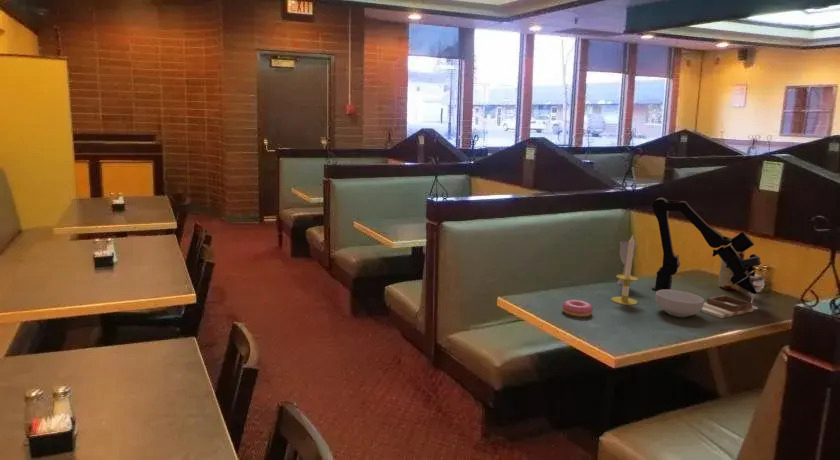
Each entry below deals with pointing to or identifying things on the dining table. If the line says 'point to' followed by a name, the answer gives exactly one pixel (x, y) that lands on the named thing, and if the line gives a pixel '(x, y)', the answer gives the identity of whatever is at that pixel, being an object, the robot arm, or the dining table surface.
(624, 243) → the chalice
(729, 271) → the food model
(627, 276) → the candle
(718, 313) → the brown wooden tray
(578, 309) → the doughnut
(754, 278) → the wineglass
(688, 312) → the cereal bowl
